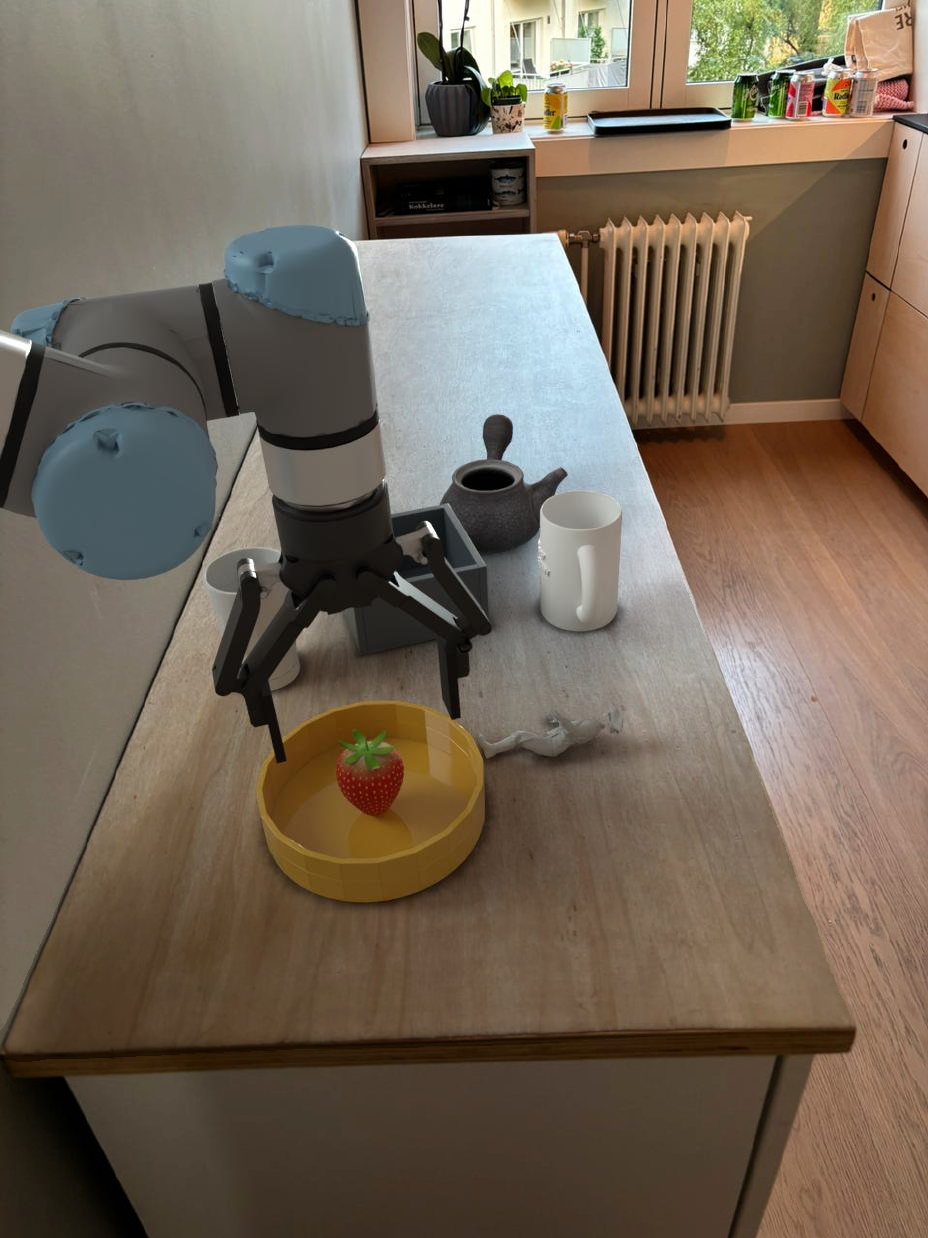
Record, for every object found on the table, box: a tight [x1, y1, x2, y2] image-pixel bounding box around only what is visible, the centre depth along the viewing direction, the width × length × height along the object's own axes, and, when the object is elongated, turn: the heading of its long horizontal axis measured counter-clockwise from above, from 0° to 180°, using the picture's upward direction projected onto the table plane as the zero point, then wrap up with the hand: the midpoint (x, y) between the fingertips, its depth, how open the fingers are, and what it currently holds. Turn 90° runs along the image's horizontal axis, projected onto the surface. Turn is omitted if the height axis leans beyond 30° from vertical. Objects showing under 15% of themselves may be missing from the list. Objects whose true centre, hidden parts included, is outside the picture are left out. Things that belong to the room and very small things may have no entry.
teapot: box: [439, 413, 569, 553], centre depth 116 cm, size 19×15×10 cm
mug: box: [537, 489, 623, 632], centre depth 98 cm, size 8×12×12 cm
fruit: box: [336, 729, 404, 816], centre depth 78 cm, size 5×5×8 cm
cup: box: [201, 546, 301, 692], centre depth 93 cm, size 8×8×12 cm
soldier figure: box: [477, 702, 624, 760], centre depth 85 cm, size 8×5×12 cm
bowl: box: [255, 699, 486, 903], centre depth 80 cm, size 18×18×4 cm
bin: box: [343, 504, 490, 656], centre depth 103 cm, size 14×14×8 cm
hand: (367, 729), depth 76 cm, fingers open, 13 cm apart
